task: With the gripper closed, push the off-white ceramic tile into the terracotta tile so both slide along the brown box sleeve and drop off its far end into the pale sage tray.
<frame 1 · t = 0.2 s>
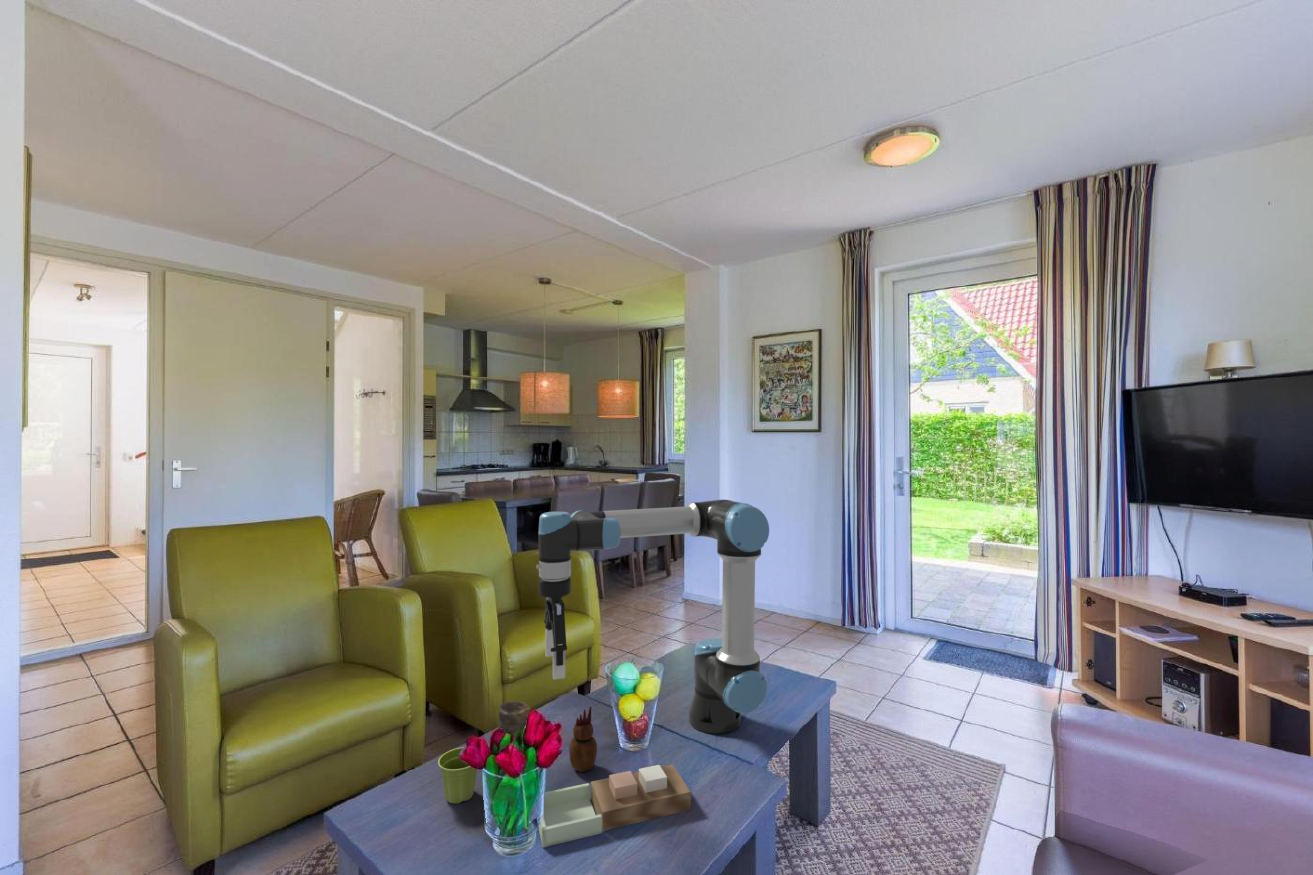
hand: (554, 666, 134), 28 cm above the table, fingers open, 13 cm apart
tile rear: (652, 783, 128), point 4 cm above the table, touching brown box sleeve
tile front: (622, 790, 125), point 4 cm above the table, touching brown box sleeve
candle: (514, 792, 131), on the table
wooden figurine: (583, 768, 141), on the table
brown box sleeve: (640, 804, 127), on the table
tray: (566, 821, 121), on the table
plant pot: (459, 796, 130), on the table
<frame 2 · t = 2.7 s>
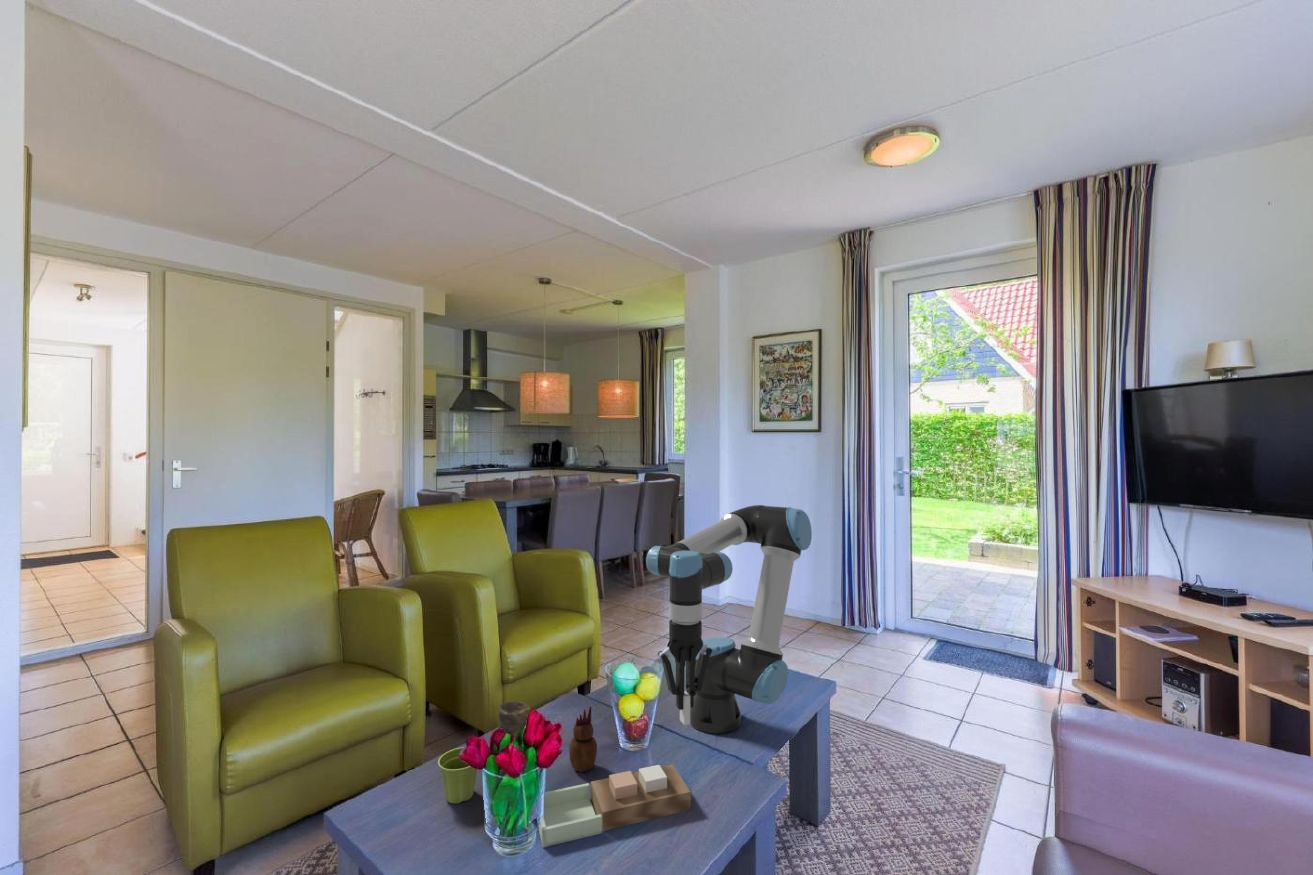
hand: (684, 721, 130), 17 cm above the table, fingers closed
nothing on the table moved.
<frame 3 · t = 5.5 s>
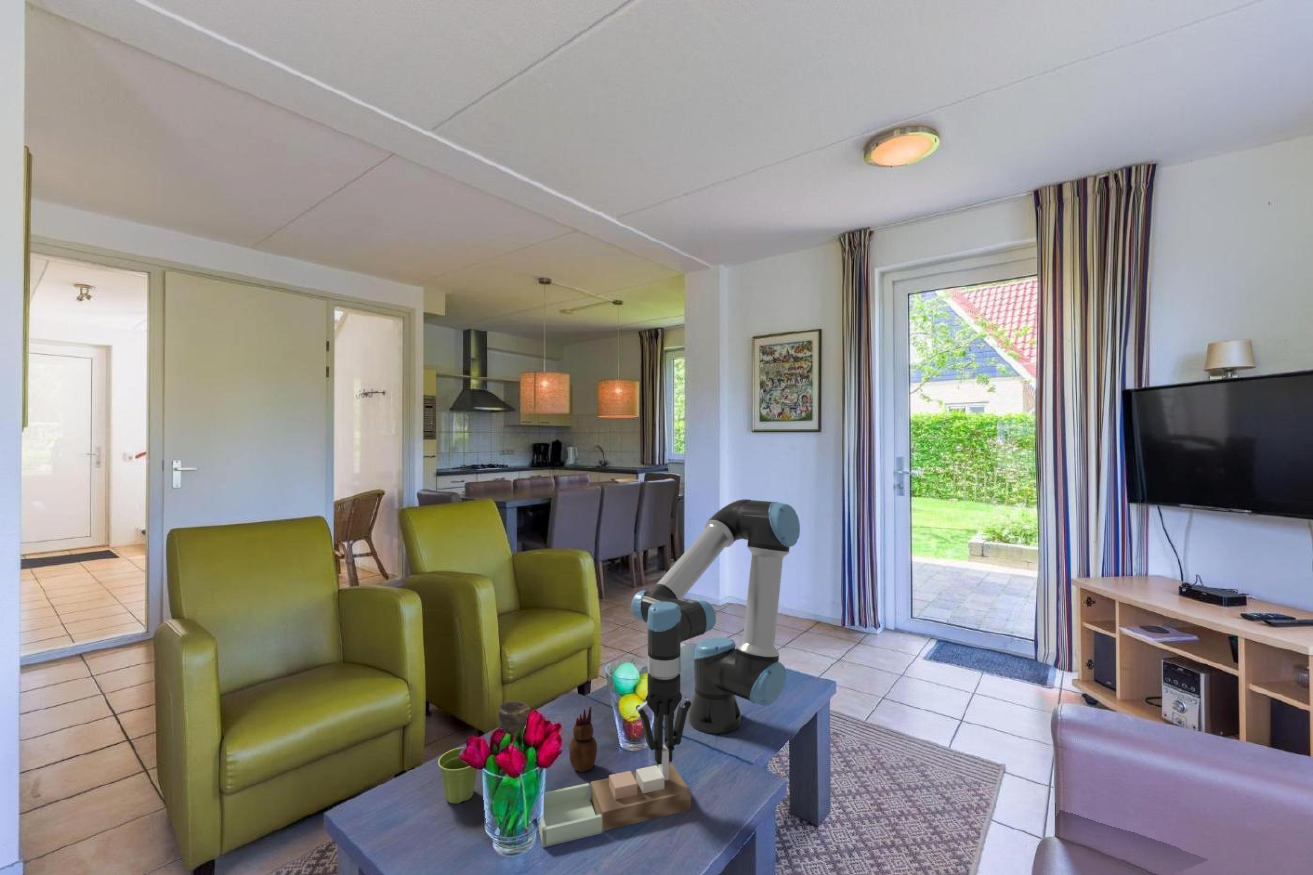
hand: (663, 776, 129), 5 cm above the table, fingers closed
tile rear: (650, 784, 128), point 4 cm above the table
everything else where it was.
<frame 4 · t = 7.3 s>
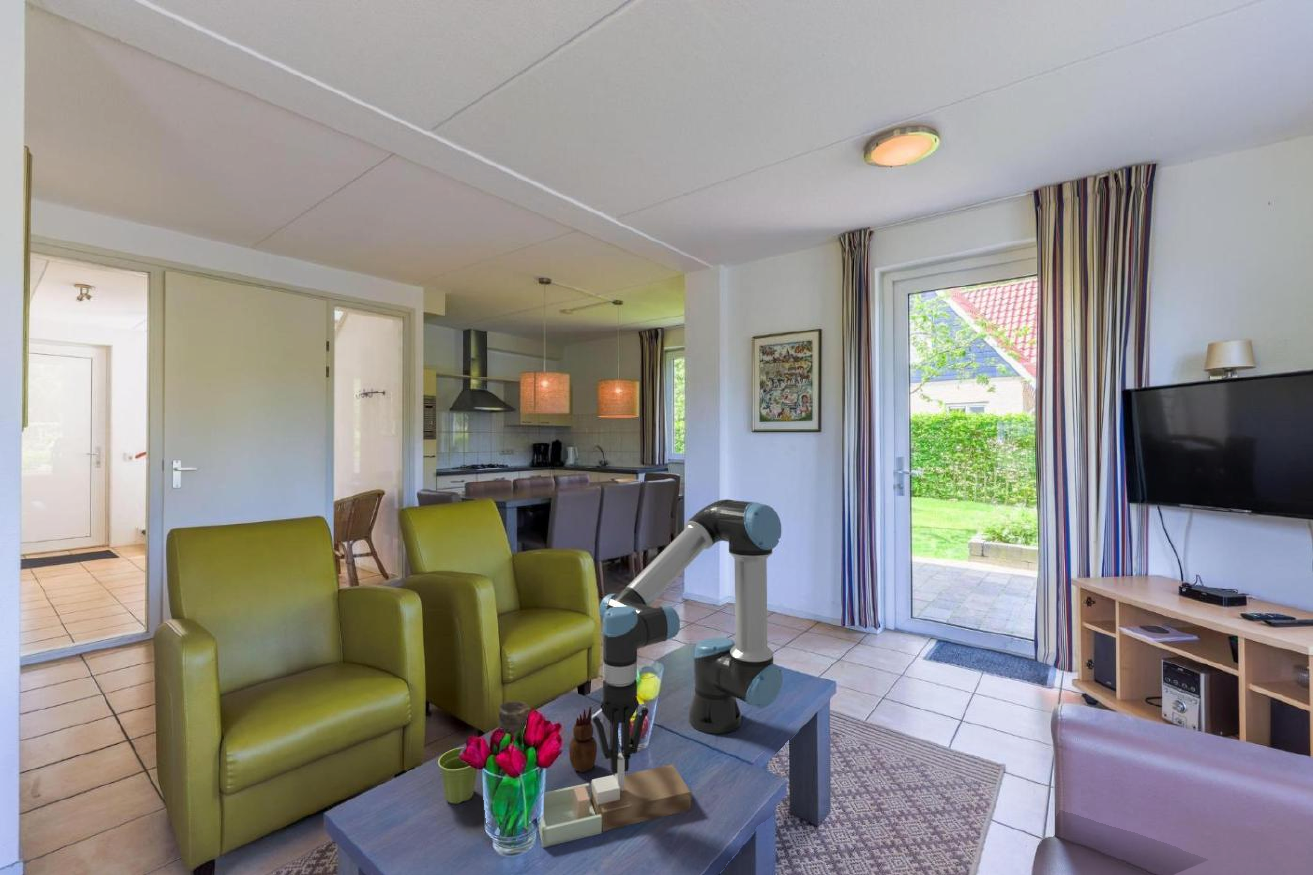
hand: (619, 785, 125), 5 cm above the table, fingers closed
tile rear: (605, 795, 124), point 4 cm above the table, touching gripper
tile front: (586, 803, 122), point 3 cm above the table, tilted 87°, touching tray
everything else where it was.
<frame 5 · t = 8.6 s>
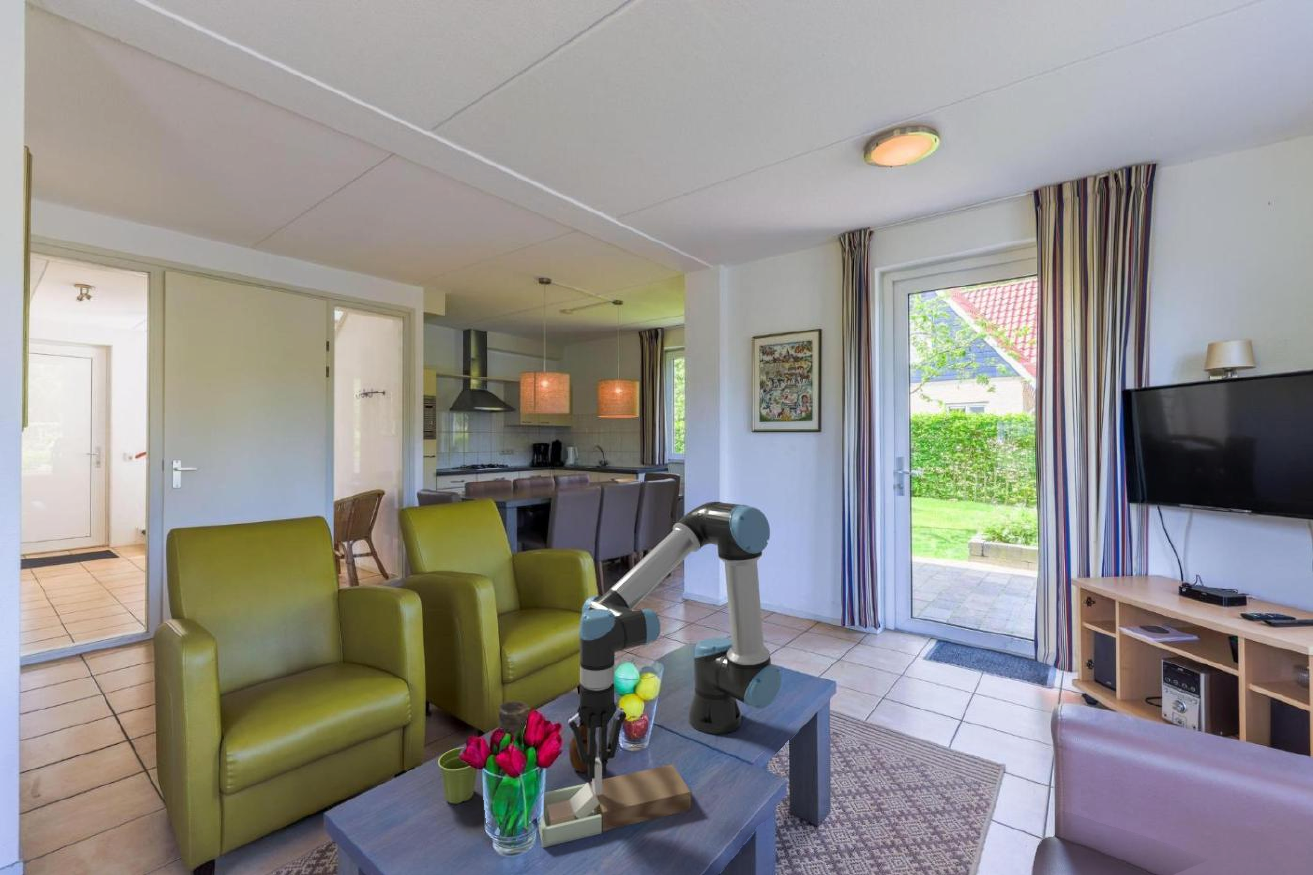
hand: (597, 790, 123), 5 cm above the table, fingers closed
tile rear: (587, 805, 122), point 3 cm above the table, tilted 37°, touching gripper, tile front
tile front: (560, 809, 120), point 3 cm above the table, tilted 180°, touching tile rear
everything else where it was.
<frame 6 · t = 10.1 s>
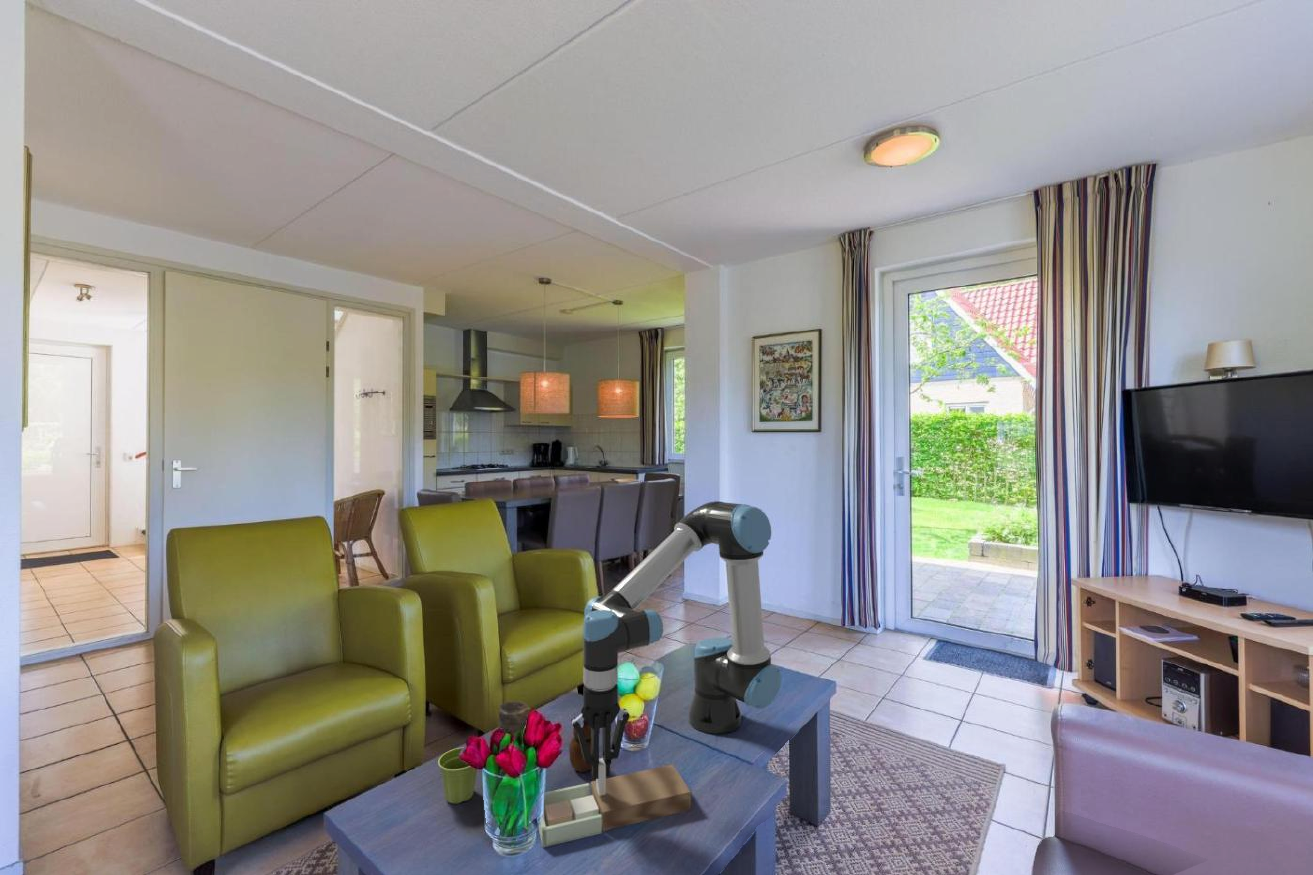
hand: (600, 791, 124), 5 cm above the table, fingers closed
tile rear: (584, 816, 122), resting on tray
tile front: (558, 810, 120), point 3 cm above the table, tilted 180°, touching tray
everything else where it was.
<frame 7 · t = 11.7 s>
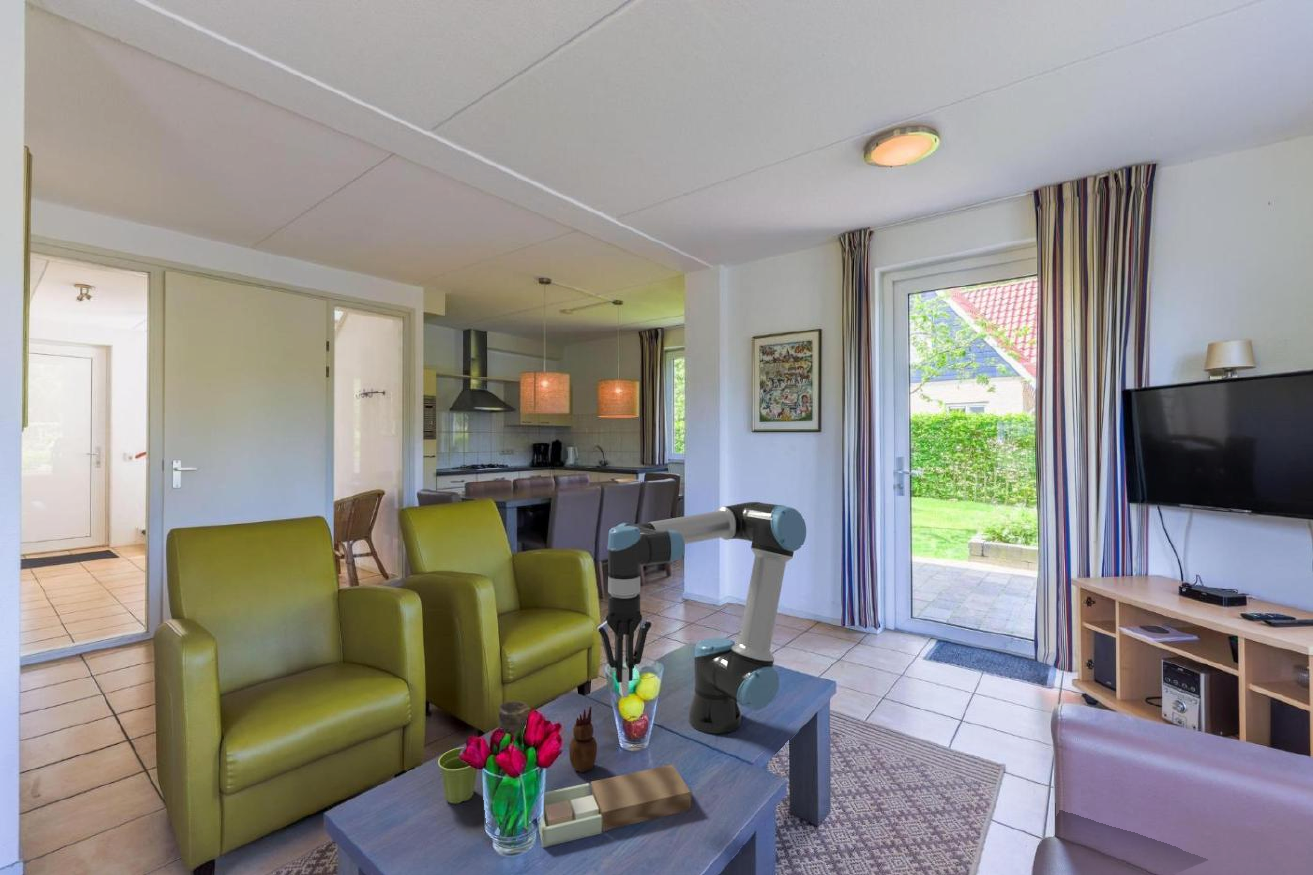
hand: (624, 694, 132), 22 cm above the table, fingers closed
nothing on the table moved.
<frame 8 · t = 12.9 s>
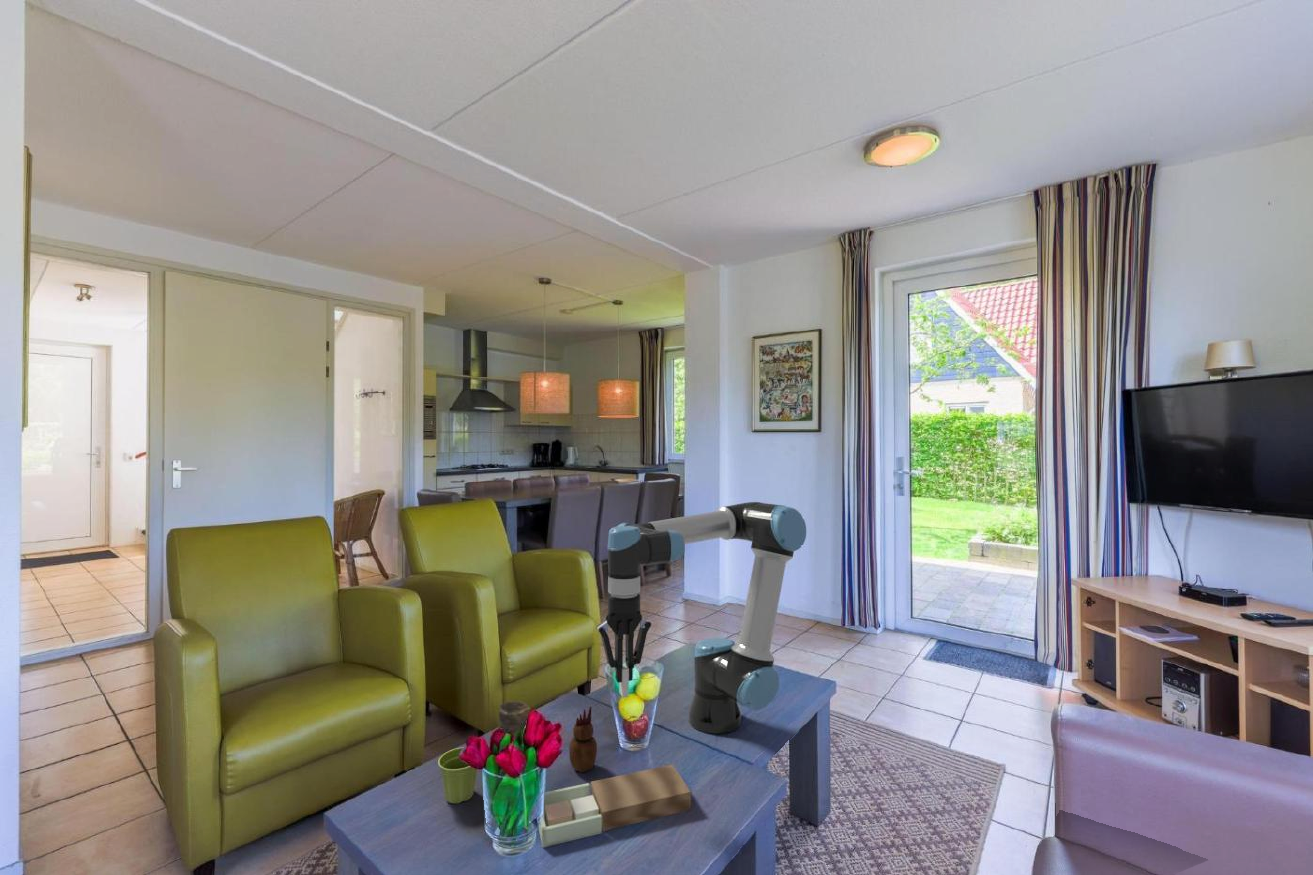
hand: (624, 694, 132), 22 cm above the table, fingers closed
nothing on the table moved.
at the end: tile front inside the target area on the tray (1.9 cm from its centre), point 3.0 cm above the tray's base; tile rear inside the target area on the tray (3.8 cm from its centre), point 0.5 cm above the tray's base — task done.
